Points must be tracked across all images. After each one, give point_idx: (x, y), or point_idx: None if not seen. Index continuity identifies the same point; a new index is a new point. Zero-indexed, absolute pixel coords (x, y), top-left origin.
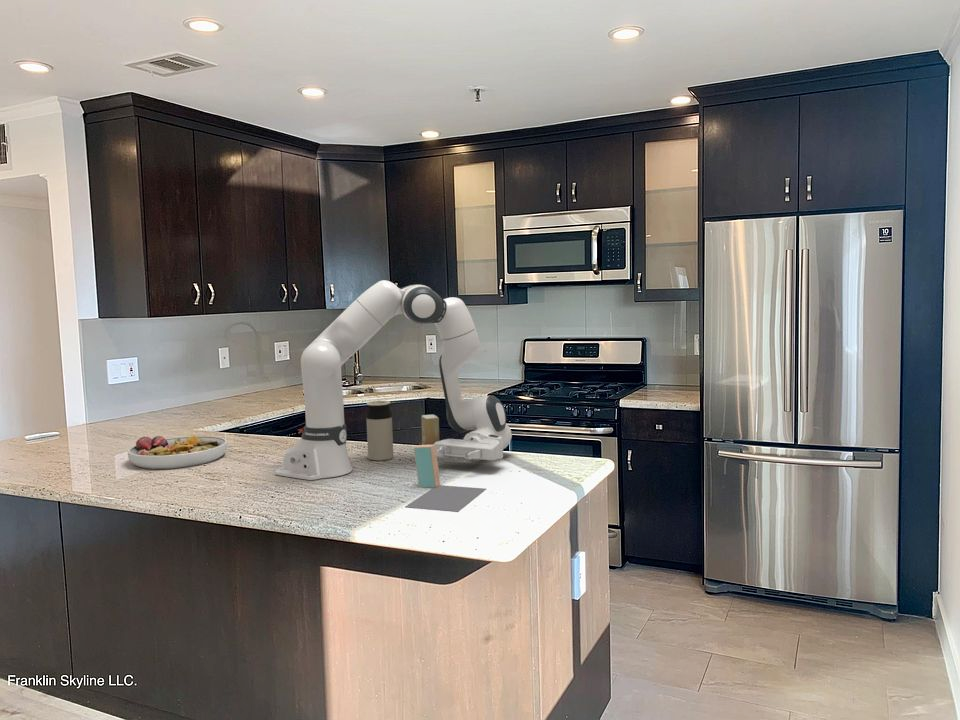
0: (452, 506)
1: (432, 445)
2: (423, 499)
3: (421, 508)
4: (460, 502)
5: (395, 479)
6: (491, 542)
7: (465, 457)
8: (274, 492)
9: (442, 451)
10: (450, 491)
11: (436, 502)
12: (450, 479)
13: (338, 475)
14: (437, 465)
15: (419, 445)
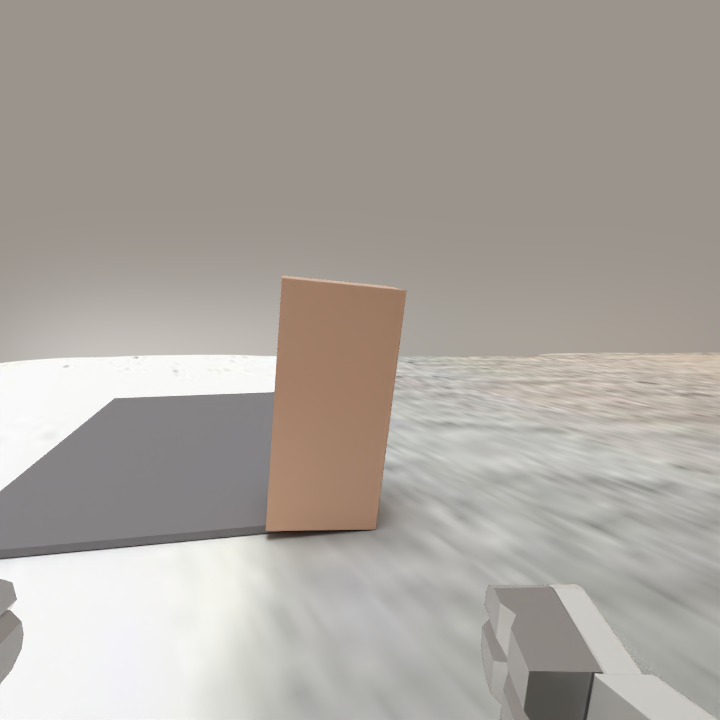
0: (136, 409)
1: (288, 277)
2: (254, 420)
3: (229, 394)
4: (109, 427)
5: (624, 555)
6: (38, 363)
7: (12, 624)
8: (696, 392)
9: (510, 641)
10: (171, 480)
11: (199, 416)
12: (255, 705)
13: None
14: (273, 415)
15: (391, 288)
